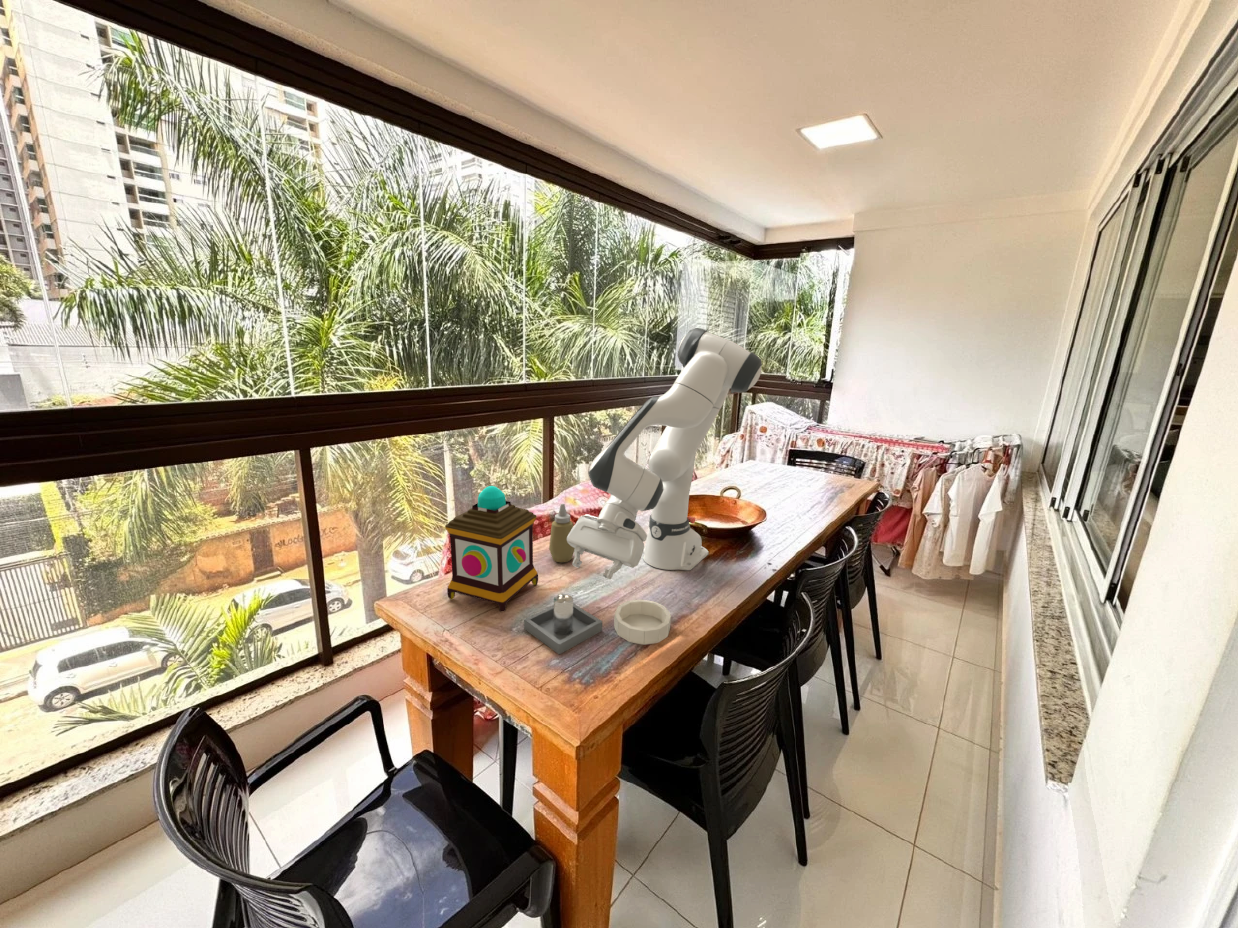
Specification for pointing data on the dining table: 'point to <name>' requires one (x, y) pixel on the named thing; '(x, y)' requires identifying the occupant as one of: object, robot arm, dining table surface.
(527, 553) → the decorative lantern
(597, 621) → the tray
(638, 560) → the robot arm
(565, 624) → the pebble cup
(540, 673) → the dining table surface
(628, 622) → the bowl
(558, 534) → the squeeze bottle
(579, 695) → the dining table surface
